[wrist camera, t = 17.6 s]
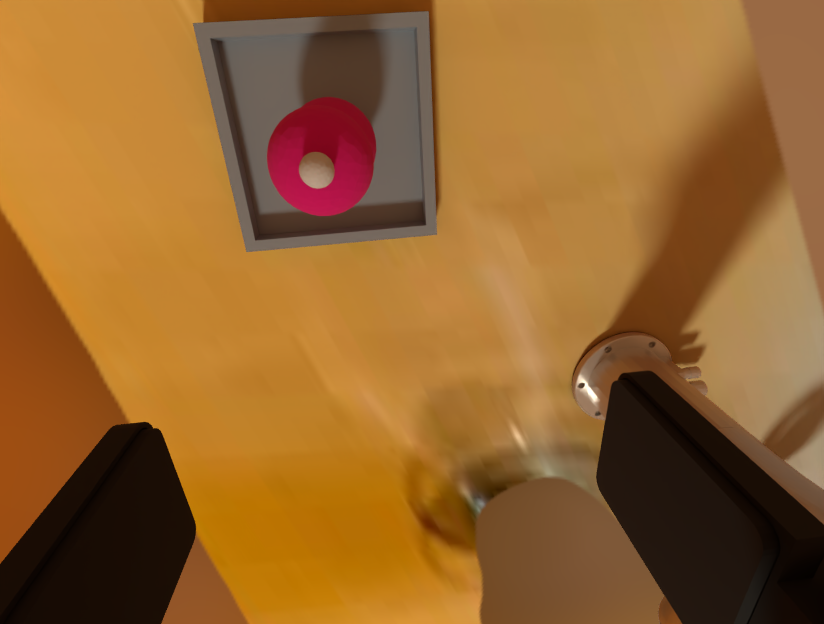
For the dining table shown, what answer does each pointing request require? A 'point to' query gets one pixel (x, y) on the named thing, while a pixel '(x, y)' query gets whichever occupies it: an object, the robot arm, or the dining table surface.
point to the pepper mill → (322, 156)
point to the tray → (314, 78)
